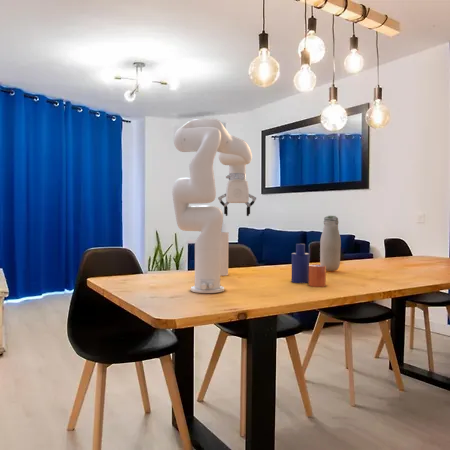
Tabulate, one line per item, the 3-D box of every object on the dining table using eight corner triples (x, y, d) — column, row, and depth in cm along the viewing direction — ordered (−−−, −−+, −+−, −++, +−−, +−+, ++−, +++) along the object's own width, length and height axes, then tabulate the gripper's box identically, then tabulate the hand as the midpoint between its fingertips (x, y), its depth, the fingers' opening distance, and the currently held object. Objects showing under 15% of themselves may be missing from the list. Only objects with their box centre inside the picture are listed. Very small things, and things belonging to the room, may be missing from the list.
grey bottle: (319, 272, 216) (319, 215, 215) (321, 269, 226) (321, 215, 225) (339, 273, 213) (340, 215, 212) (340, 270, 223) (341, 215, 222)
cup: (327, 286, 173) (327, 266, 173) (310, 286, 173) (310, 266, 172) (323, 284, 180) (323, 264, 179) (306, 284, 179) (307, 264, 179)
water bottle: (310, 283, 181) (310, 244, 181) (293, 283, 181) (293, 244, 181) (306, 280, 189) (307, 243, 188) (290, 280, 188) (290, 243, 188)
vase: (230, 275, 204) (230, 232, 203) (215, 275, 201) (215, 232, 201) (222, 272, 214) (222, 231, 214) (208, 272, 212) (208, 231, 212)
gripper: (218, 177, 193) (218, 215, 194) (257, 177, 194) (257, 216, 195) (217, 178, 201) (217, 215, 201) (255, 178, 202) (255, 216, 202)
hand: (237, 215), depth 198 cm, fingers open, 9 cm apart
